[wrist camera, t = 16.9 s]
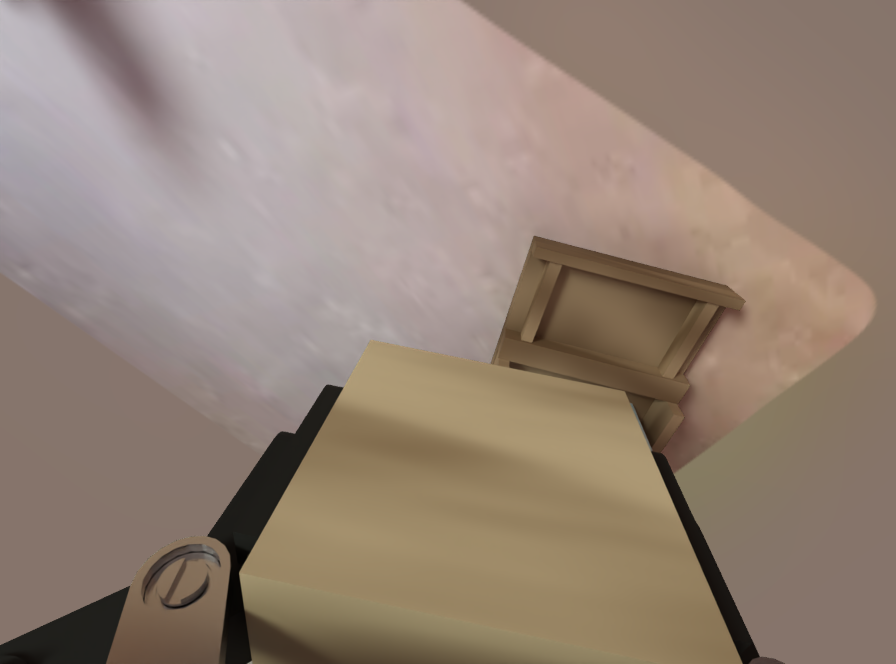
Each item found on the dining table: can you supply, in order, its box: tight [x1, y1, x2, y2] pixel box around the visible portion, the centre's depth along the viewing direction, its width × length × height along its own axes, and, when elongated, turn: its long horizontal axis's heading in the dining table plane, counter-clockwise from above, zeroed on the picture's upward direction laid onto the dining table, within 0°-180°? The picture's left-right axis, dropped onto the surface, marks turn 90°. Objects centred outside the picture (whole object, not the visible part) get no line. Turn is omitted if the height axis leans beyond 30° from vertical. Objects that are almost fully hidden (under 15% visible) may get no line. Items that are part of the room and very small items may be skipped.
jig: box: [491, 236, 746, 453], centre depth 27 cm, size 15×12×4 cm
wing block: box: [239, 340, 743, 664], centre depth 9 cm, size 4×6×6 cm, turn 80°
